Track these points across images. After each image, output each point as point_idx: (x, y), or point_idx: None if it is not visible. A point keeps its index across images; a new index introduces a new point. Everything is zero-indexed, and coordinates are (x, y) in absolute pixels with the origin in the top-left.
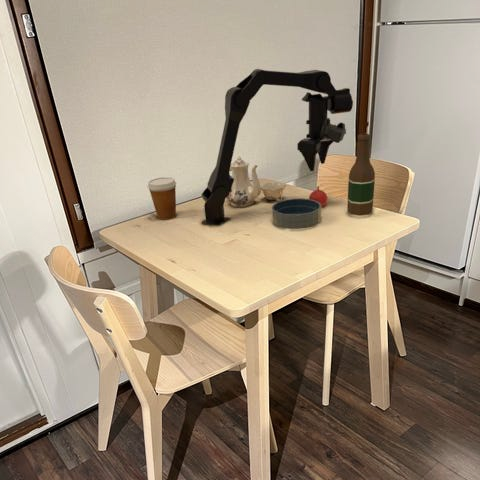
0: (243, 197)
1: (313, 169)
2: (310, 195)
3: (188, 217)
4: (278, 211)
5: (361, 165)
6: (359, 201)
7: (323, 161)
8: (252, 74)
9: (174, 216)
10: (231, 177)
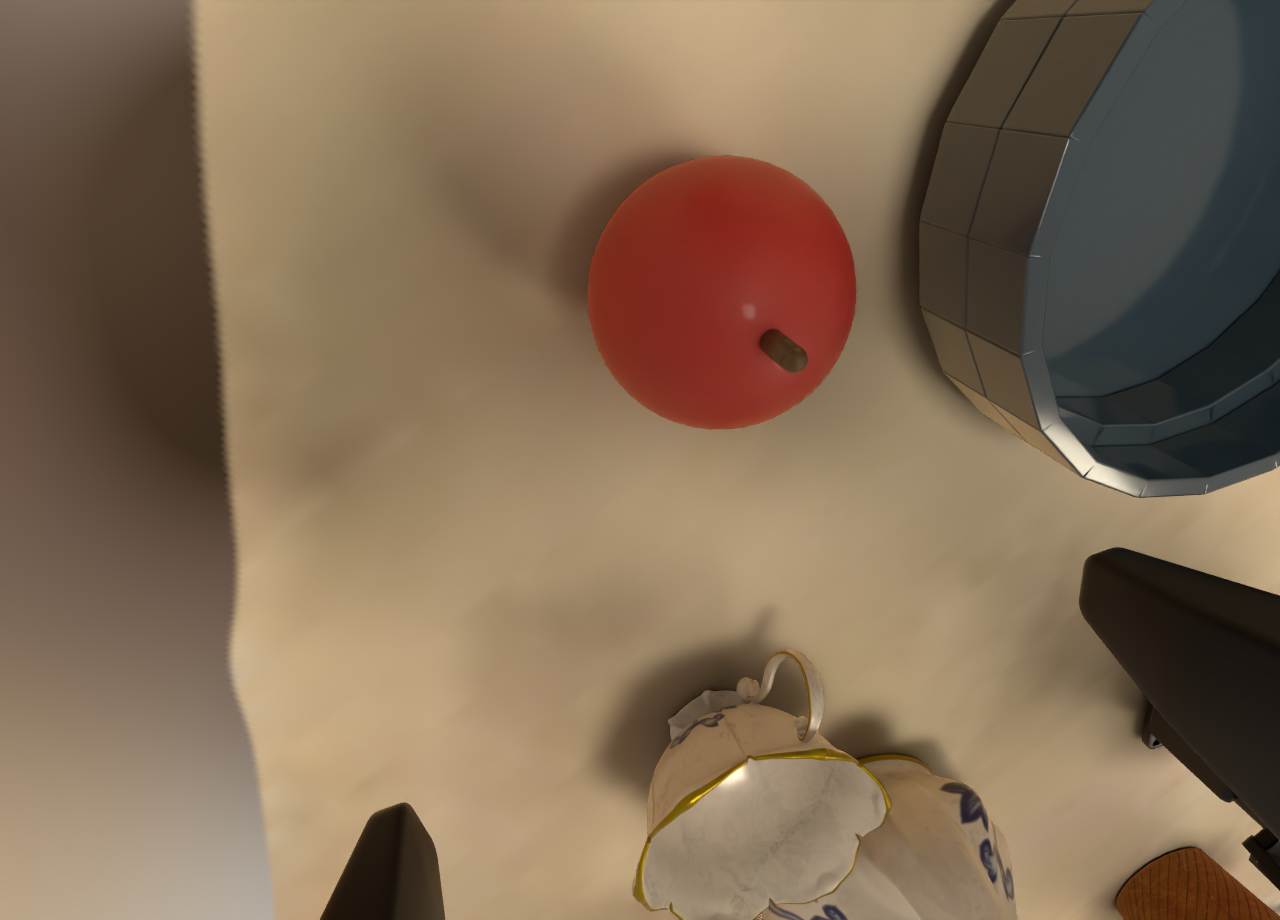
0: (987, 818)
1: (1161, 560)
2: (821, 381)
3: (1159, 812)
4: (1166, 413)
5: None
6: None
7: (409, 864)
8: None
9: (1168, 856)
10: None
